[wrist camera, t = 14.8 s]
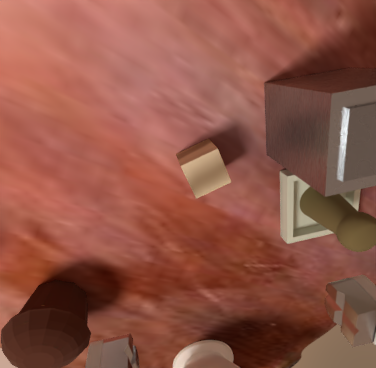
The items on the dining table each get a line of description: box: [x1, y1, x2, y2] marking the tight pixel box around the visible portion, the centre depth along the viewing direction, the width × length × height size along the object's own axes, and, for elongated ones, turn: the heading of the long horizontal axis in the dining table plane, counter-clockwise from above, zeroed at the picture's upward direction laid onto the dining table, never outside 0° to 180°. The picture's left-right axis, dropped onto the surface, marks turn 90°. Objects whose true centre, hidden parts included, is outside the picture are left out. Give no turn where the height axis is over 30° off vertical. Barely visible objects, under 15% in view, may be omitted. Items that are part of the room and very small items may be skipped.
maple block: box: [176, 139, 231, 199], centre depth 37 cm, size 5×5×5 cm
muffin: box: [1, 280, 91, 368], centre depth 40 cm, size 12×11×10 cm
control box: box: [264, 68, 376, 197], centre depth 32 cm, size 10×12×14 cm
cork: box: [300, 186, 376, 252], centre depth 39 cm, size 6×6×11 cm
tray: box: [280, 170, 361, 244], centre depth 44 cm, size 12×12×2 cm
